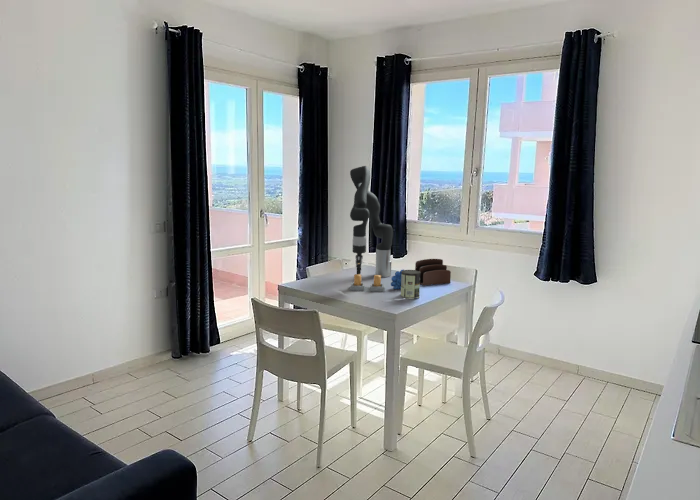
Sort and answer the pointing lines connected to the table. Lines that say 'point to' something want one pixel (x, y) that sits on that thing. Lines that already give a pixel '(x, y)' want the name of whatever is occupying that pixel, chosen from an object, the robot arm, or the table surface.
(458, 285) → the table surface
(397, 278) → the grapes
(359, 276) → the loose jaw peg
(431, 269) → the letter holder
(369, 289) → the grey peg socket base
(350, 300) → the table surface
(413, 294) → the coffee can
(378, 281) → the seated jaw peg
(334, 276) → the table surface
